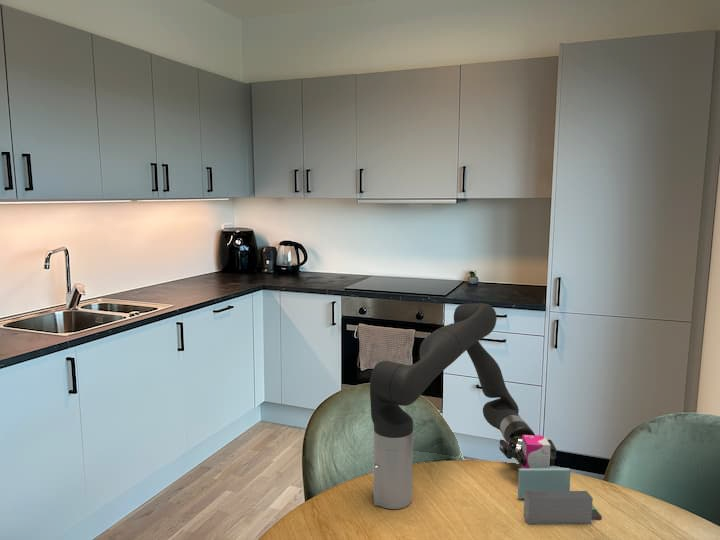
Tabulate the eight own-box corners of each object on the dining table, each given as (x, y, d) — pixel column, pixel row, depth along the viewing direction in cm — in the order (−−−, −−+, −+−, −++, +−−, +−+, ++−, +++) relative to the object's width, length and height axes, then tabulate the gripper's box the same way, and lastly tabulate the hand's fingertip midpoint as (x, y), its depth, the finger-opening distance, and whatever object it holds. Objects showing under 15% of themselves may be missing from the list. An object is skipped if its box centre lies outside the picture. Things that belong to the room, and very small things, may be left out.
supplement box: (542, 477, 135) (545, 434, 133) (548, 489, 129) (551, 445, 128) (519, 476, 135) (522, 433, 134) (524, 488, 130) (527, 444, 128)
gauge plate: (519, 498, 125) (520, 470, 124) (517, 496, 126) (518, 468, 125) (585, 498, 125) (587, 470, 125) (584, 495, 126) (585, 468, 126)
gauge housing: (528, 524, 116) (529, 498, 115) (513, 498, 126) (514, 474, 126) (604, 523, 116) (606, 498, 115) (583, 497, 127) (585, 474, 126)
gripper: (491, 420, 145) (509, 448, 128) (543, 420, 145) (568, 448, 129) (490, 446, 146) (508, 477, 129) (542, 446, 146) (566, 477, 130)
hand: (538, 462), depth 129 cm, fingers closed on supplement box, 6 cm apart
